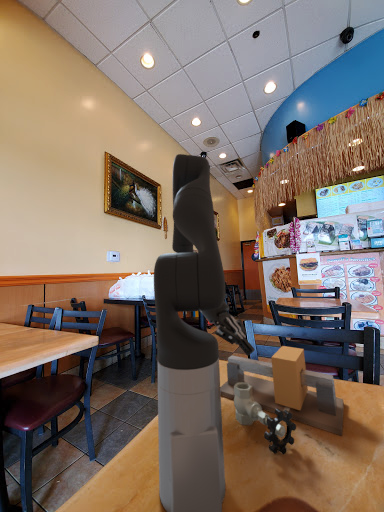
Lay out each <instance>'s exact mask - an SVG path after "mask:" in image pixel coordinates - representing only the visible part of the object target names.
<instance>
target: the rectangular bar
mask: <svg viewBox="0 0 384 512" xmlns="http://www.w3.org/2000/svg"><path fill="white" fill-rule="evenodd" d="M226 371H227V374H226V375H227V381H228V385H232V386H235V384H236V383H239V382H244V374H245V373H246V372H247V373H251V374H255V375H259V376H262V377H267V378H272V379H273V370H272V362H268V361H267V362H266V361H262V360H256V359H252V358H247V357H241V356H236V355H230V356H229V357H227V363H226ZM300 377H301V385H305V386H307V387H308V388H309V387H310V388H312V389H313V388H314V389H315V392H316V393H317V402H318V411H320V412H323V413H327V414H330V415H333V416H336V410H337V403H336V397H337V396H336V395H337V394H336V388H335V387H336V385H335V379H334V375H332V374H327V373H322V372H316V371H312V370H307V369H306V370H303V369H301V371H300Z"/></svg>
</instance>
